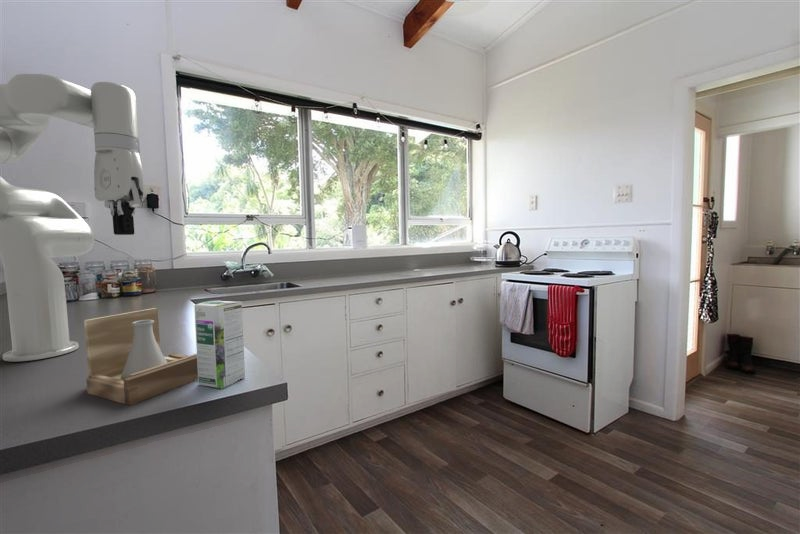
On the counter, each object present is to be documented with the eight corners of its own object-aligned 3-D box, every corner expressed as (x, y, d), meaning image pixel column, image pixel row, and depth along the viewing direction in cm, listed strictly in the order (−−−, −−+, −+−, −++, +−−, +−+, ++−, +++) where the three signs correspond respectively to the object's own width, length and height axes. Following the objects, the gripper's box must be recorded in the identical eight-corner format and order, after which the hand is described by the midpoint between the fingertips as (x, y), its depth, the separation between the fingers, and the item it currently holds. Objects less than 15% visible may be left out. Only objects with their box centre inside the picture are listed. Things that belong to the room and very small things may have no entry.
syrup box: (196, 385, 65) (191, 304, 64) (223, 374, 70) (219, 298, 69) (221, 389, 63) (217, 305, 62) (247, 377, 68) (243, 300, 67)
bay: (87, 393, 62) (85, 370, 62) (174, 364, 76) (173, 345, 76) (130, 405, 57) (128, 380, 57) (215, 372, 71) (214, 352, 71)
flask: (179, 369, 70) (175, 317, 70) (146, 383, 63) (142, 326, 63) (146, 367, 72) (143, 316, 71) (111, 381, 65) (106, 325, 64)
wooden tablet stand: (89, 386, 65) (83, 320, 64) (158, 364, 76) (154, 307, 75) (134, 398, 59) (129, 326, 58) (201, 373, 70) (197, 312, 69)
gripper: (76, 147, 77) (84, 235, 78) (119, 138, 71) (126, 233, 72) (116, 154, 84) (122, 235, 85) (158, 146, 78) (164, 234, 79)
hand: (124, 234), depth 79 cm, fingers closed
